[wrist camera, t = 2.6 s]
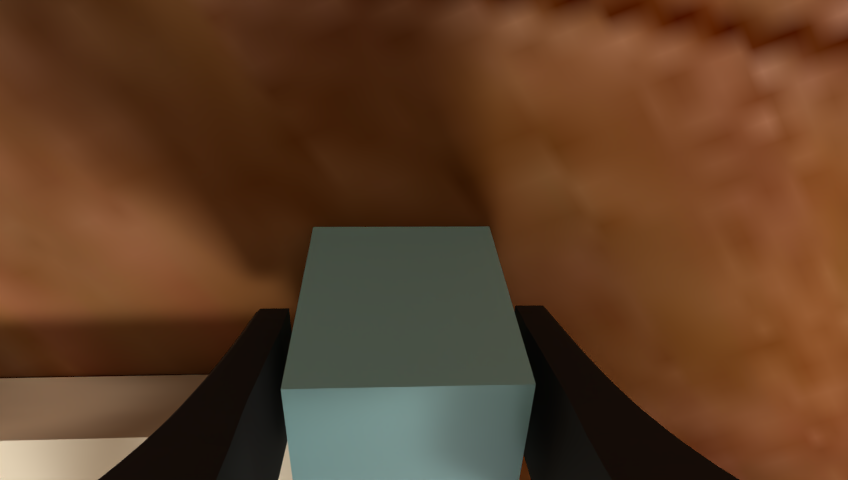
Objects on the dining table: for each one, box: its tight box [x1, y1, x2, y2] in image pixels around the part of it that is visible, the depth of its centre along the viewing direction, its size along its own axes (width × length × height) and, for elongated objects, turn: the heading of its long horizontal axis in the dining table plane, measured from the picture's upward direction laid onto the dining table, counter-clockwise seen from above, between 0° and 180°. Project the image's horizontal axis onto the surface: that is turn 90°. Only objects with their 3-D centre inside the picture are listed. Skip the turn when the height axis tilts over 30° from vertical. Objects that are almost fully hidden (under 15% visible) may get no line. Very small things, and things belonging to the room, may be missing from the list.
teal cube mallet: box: [281, 226, 536, 480], centre depth 14 cm, size 4×10×5 cm, turn 178°
